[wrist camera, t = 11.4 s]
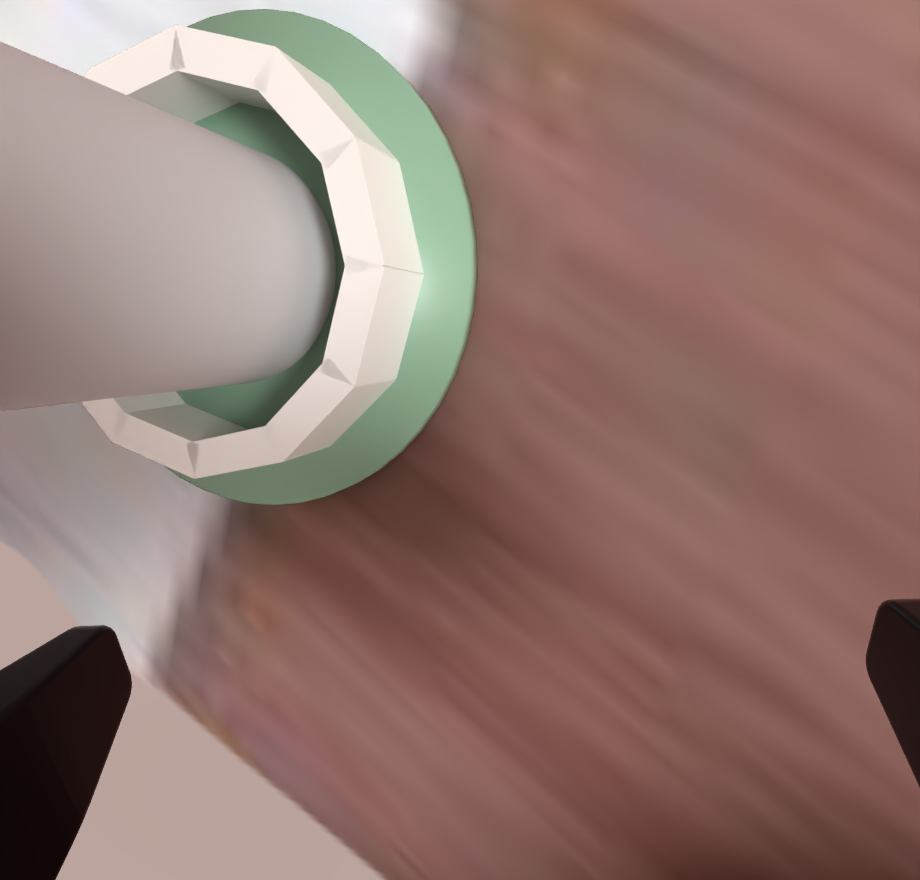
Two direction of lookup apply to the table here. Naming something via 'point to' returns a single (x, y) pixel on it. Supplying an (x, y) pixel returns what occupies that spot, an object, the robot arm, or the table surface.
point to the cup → (356, 252)
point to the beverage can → (144, 248)
